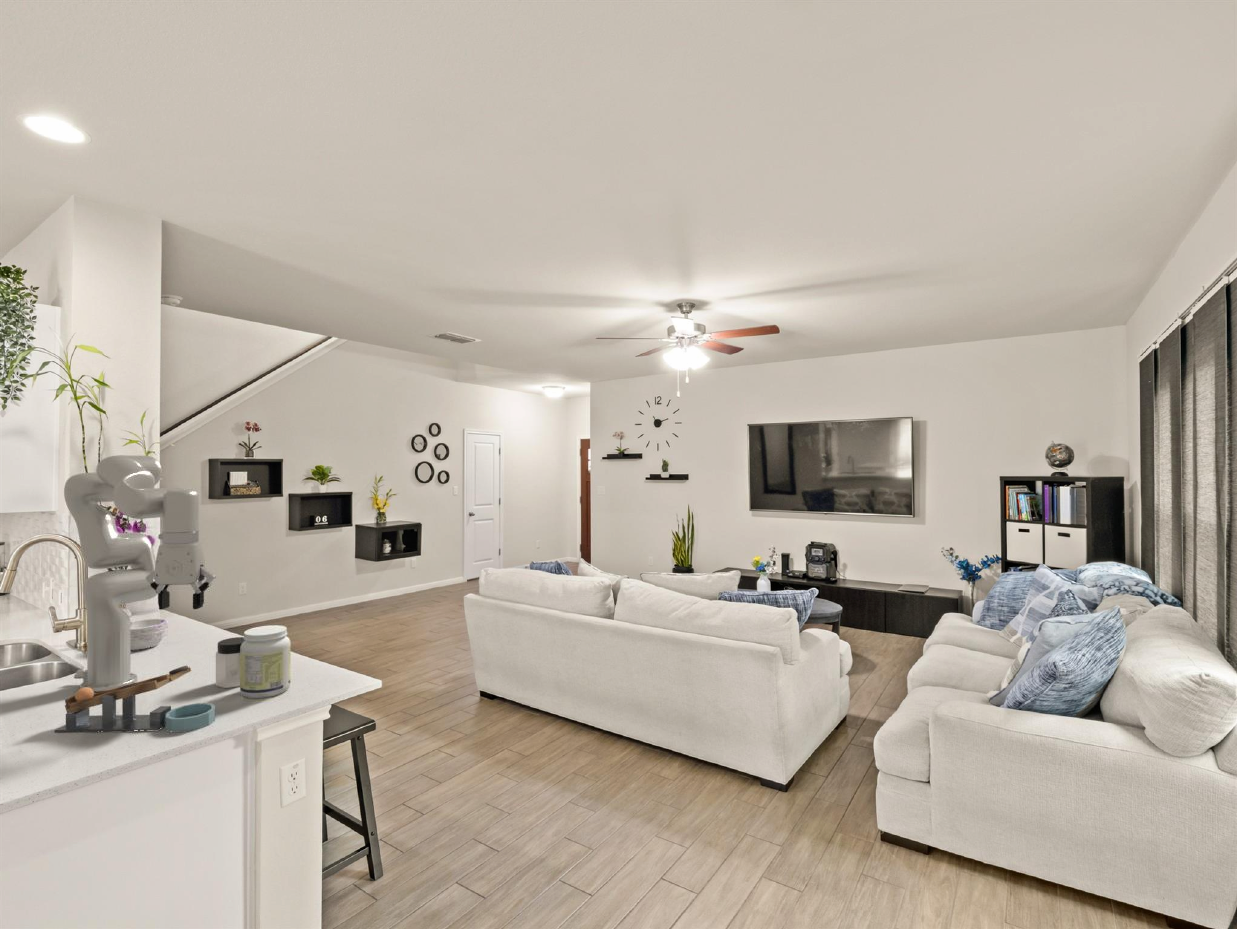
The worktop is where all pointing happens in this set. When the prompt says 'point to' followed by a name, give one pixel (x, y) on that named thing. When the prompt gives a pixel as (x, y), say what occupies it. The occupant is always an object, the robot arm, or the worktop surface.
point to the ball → (84, 694)
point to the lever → (126, 690)
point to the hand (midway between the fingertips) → (181, 607)
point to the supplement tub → (265, 662)
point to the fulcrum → (114, 718)
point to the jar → (228, 662)
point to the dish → (190, 717)
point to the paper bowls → (147, 633)
